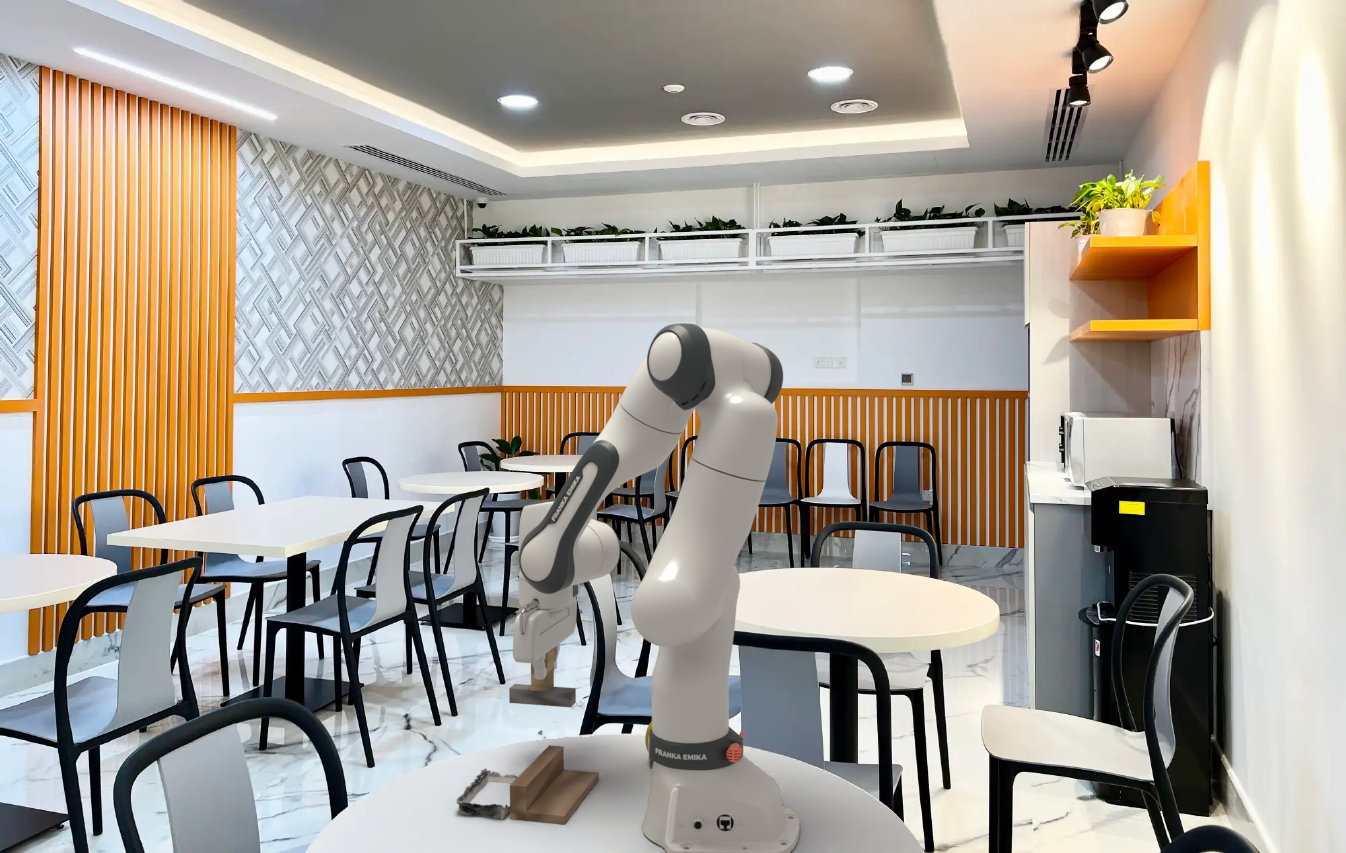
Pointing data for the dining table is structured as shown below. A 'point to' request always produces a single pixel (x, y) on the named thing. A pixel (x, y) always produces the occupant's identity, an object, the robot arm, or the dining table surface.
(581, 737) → the dining table surface
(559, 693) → the oak pusher
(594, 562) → the robot arm
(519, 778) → the stop bar
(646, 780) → the dining table surface
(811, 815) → the dining table surface
